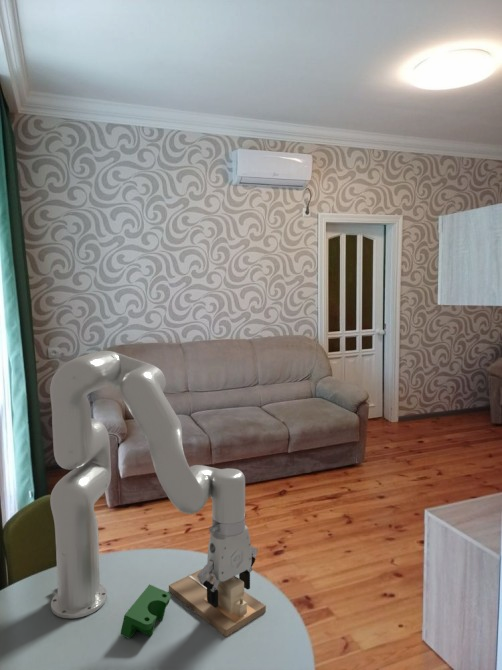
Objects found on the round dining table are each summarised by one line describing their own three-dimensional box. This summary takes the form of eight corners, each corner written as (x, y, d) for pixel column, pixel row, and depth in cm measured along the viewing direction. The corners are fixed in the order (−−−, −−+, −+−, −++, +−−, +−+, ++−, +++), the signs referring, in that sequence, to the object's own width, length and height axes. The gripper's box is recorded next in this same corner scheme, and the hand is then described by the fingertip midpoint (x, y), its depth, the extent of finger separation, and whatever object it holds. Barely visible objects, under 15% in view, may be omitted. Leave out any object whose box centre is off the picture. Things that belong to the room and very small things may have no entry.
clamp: (145, 656, 104) (145, 634, 99) (121, 645, 105) (119, 622, 101) (171, 605, 114) (172, 583, 109) (149, 595, 115) (149, 573, 110)
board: (168, 590, 120) (168, 584, 120) (207, 571, 128) (207, 566, 128) (226, 636, 104) (226, 629, 104) (265, 611, 112) (265, 605, 112)
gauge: (208, 598, 114) (208, 574, 114) (221, 591, 117) (221, 567, 116) (236, 618, 107) (236, 593, 106) (250, 610, 110) (250, 585, 109)
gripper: (209, 543, 102) (209, 620, 103) (267, 517, 113) (266, 587, 115) (188, 531, 107) (189, 604, 109) (245, 507, 119) (245, 573, 120)
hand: (229, 595), depth 112 cm, fingers open, 9 cm apart
